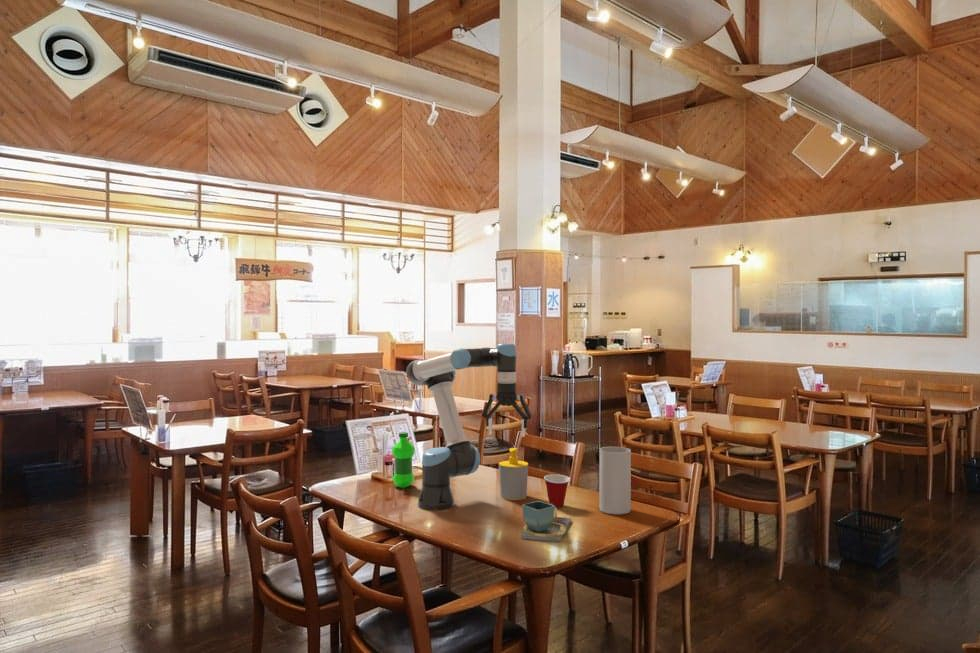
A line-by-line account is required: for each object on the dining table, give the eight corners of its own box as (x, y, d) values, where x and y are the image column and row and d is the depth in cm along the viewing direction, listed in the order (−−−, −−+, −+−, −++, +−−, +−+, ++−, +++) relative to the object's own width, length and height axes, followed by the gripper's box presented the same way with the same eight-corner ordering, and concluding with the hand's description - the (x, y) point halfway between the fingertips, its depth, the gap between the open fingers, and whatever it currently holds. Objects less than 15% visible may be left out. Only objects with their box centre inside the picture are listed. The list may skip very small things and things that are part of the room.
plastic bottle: (397, 490, 295) (397, 435, 295) (389, 485, 304) (389, 432, 304) (417, 487, 300) (417, 433, 300) (409, 482, 309) (409, 430, 309)
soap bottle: (494, 499, 280) (494, 450, 280) (503, 491, 292) (503, 445, 292) (523, 501, 276) (523, 452, 276) (531, 494, 288) (531, 446, 288)
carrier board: (519, 538, 229) (519, 516, 229) (534, 518, 253) (534, 498, 253) (561, 542, 225) (561, 520, 224) (572, 521, 249) (572, 501, 248)
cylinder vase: (596, 506, 268) (596, 446, 268) (625, 505, 269) (625, 446, 269) (604, 515, 256) (604, 452, 256) (634, 514, 257) (634, 452, 257)
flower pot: (555, 530, 234) (555, 505, 234) (538, 535, 229) (538, 510, 229) (538, 524, 241) (538, 500, 241) (521, 529, 235) (521, 504, 235)
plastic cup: (556, 511, 262) (556, 481, 262) (538, 505, 270) (538, 476, 270) (575, 506, 268) (575, 478, 268) (557, 500, 277) (557, 473, 277)
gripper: (474, 382, 256) (474, 435, 257) (535, 384, 249) (535, 438, 250) (479, 380, 264) (479, 432, 264) (539, 382, 257) (539, 435, 257)
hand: (506, 435), depth 257 cm, fingers open, 13 cm apart
